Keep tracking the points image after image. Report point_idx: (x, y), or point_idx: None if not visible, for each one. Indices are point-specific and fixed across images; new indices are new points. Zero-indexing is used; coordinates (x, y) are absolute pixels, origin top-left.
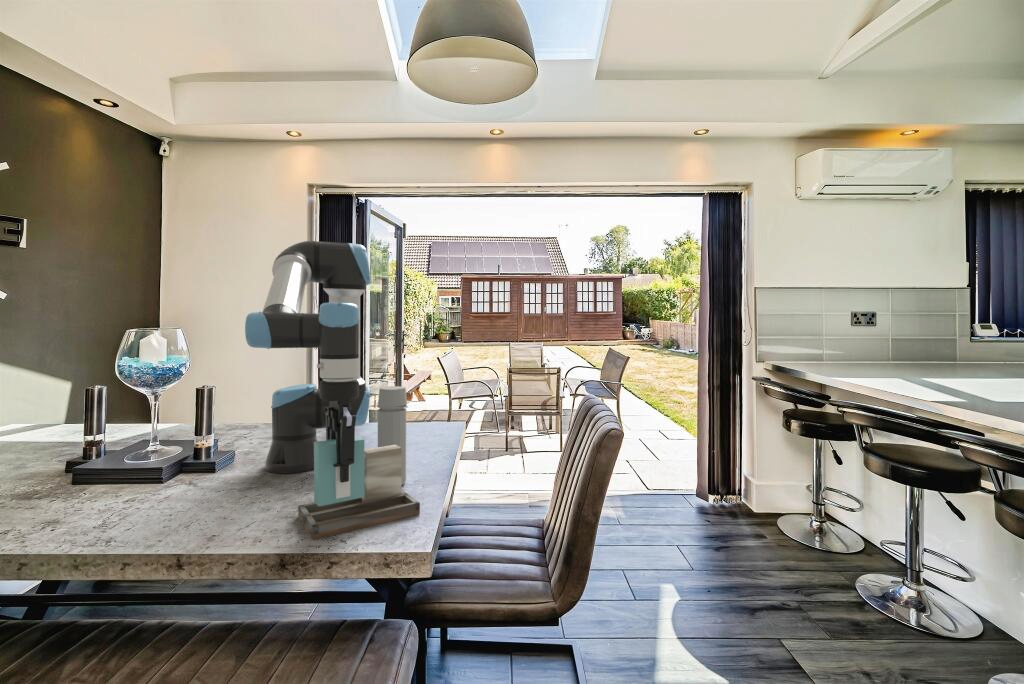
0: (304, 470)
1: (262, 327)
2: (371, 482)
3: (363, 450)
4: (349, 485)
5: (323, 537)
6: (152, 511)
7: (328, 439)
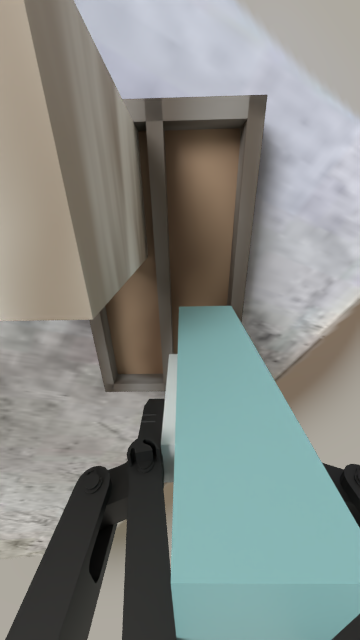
0: None
1: None
2: (133, 253)
3: (311, 450)
4: None
5: None
6: (8, 498)
7: (90, 626)
